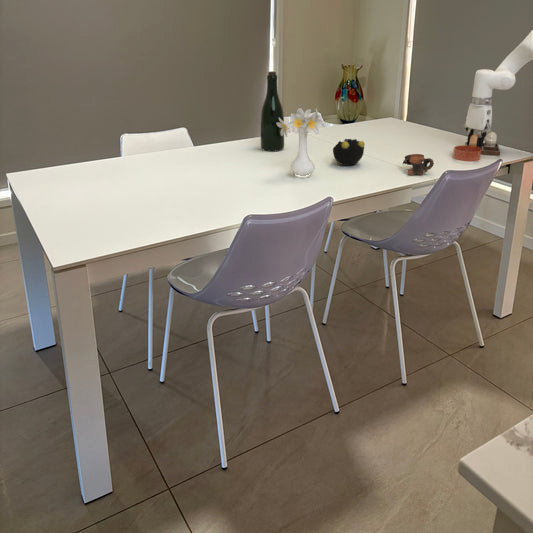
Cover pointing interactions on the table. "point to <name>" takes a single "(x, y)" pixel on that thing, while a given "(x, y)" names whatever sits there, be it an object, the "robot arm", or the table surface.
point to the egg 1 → (473, 140)
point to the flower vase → (302, 139)
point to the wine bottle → (271, 117)
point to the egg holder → (489, 150)
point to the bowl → (467, 153)
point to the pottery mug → (418, 164)
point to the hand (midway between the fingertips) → (474, 144)
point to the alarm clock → (348, 151)
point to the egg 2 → (490, 139)
